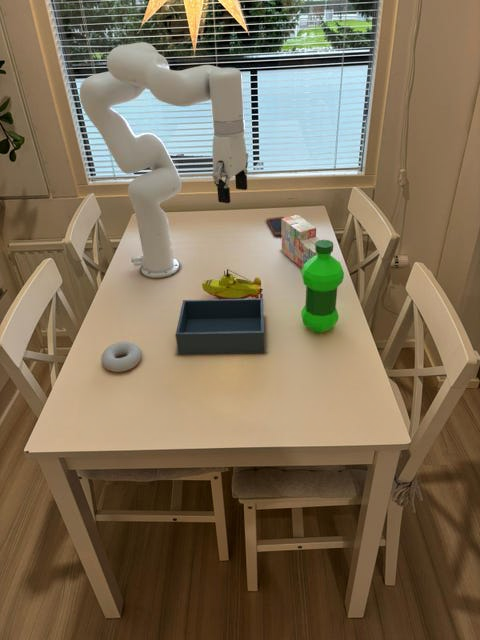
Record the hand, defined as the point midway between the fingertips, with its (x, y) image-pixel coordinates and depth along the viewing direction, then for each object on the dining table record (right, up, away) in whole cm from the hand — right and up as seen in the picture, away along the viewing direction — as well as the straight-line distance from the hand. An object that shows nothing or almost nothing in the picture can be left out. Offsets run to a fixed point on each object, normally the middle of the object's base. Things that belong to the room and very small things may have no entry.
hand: (233, 195), depth 124 cm
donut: (-28, -43, -3) cm, 51 cm away
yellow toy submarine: (0, -26, +19) cm, 32 cm away
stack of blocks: (+23, -13, +35) cm, 44 cm away
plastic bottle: (+23, -34, +6) cm, 42 cm away
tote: (-3, -37, +4) cm, 37 cm away
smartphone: (+17, +3, +57) cm, 59 cm away
